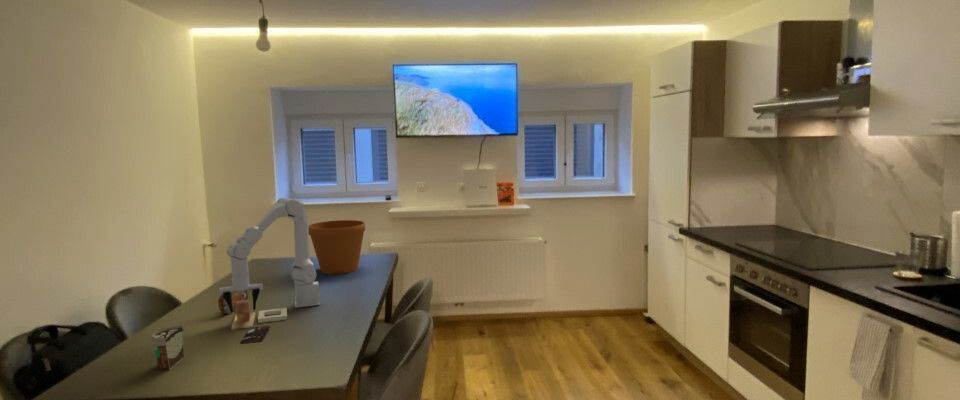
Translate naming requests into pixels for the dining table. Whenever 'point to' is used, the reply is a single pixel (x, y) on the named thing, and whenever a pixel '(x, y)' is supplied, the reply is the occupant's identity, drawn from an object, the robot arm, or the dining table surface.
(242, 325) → the oak board
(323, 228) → the flowerpot
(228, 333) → the dining table surface
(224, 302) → the tin
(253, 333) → the smartphone
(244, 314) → the block
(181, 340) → the food container
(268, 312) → the pocket plate
